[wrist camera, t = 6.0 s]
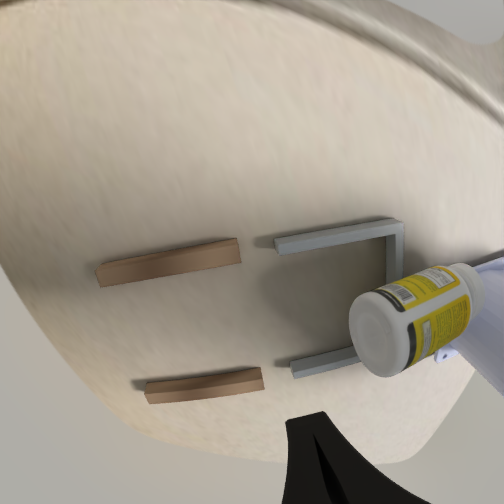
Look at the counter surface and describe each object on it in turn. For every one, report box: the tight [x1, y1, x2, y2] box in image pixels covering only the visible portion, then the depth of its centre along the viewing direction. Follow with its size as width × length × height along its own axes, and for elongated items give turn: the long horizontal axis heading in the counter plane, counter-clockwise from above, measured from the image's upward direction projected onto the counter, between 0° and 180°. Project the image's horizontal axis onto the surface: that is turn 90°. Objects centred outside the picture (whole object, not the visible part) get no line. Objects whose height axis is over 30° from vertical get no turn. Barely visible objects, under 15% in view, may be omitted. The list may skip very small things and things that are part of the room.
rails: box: [95, 238, 264, 404], centre depth 18 cm, size 8×10×1 cm
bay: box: [274, 218, 404, 379], centre depth 18 cm, size 8×9×1 cm
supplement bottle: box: [349, 263, 485, 377], centre depth 16 cm, size 5×5×8 cm
